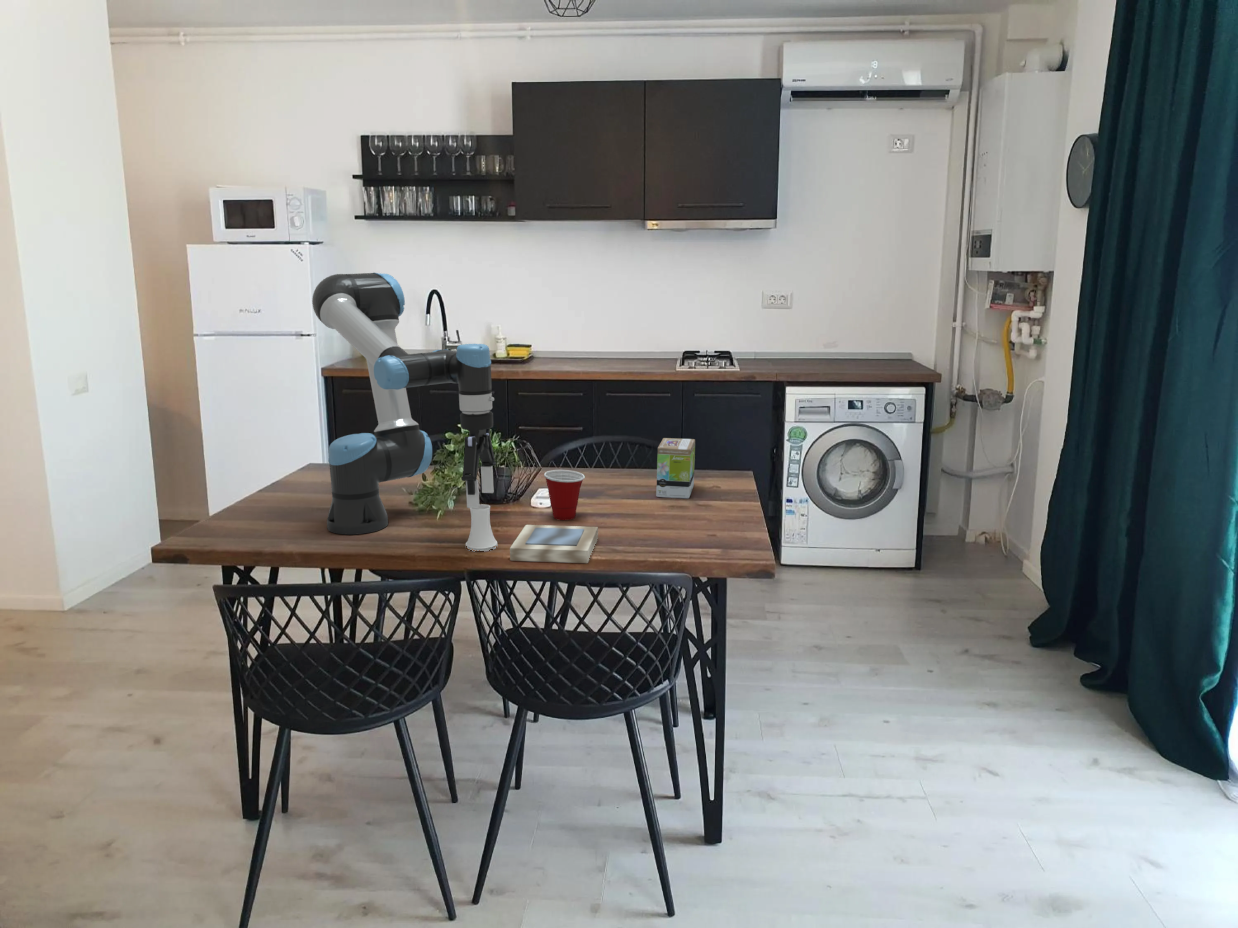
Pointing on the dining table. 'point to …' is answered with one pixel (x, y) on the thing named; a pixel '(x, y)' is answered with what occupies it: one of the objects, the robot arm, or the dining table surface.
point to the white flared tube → (481, 530)
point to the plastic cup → (564, 492)
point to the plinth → (554, 544)
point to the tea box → (675, 468)
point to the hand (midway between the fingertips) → (480, 500)
